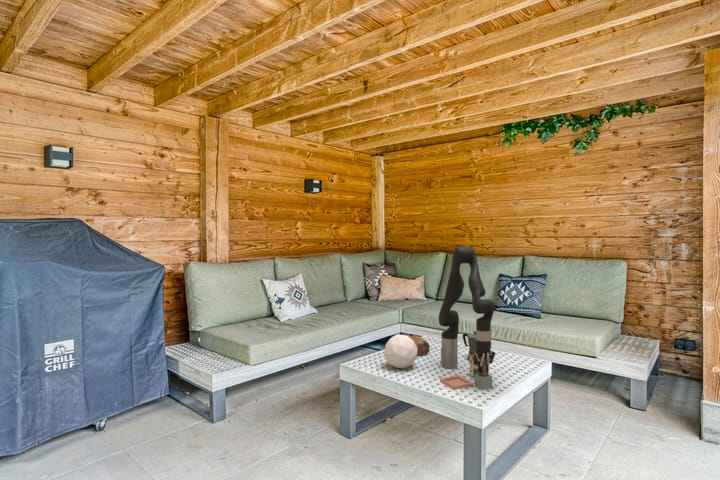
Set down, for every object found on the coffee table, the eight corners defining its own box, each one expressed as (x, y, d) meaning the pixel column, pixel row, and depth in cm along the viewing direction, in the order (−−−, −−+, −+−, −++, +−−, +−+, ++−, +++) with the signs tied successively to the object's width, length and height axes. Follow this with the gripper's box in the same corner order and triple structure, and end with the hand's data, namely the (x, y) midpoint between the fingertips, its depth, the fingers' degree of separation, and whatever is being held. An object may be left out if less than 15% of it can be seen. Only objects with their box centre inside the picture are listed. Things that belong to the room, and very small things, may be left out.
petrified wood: (432, 354, 268) (429, 340, 266) (414, 360, 264) (411, 346, 263) (420, 346, 286) (417, 332, 285) (403, 351, 283) (400, 337, 282)
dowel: (478, 385, 212) (479, 357, 211) (483, 384, 213) (483, 357, 213) (482, 387, 209) (482, 359, 209) (487, 386, 210) (487, 358, 210)
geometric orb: (393, 380, 242) (372, 353, 242) (405, 359, 259) (385, 334, 258) (417, 370, 231) (396, 342, 231) (428, 349, 248) (408, 323, 247)
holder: (474, 387, 212) (474, 373, 212) (484, 385, 215) (484, 372, 215) (482, 391, 207) (482, 377, 207) (492, 389, 209) (492, 376, 209)
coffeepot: (488, 360, 256) (488, 331, 256) (480, 364, 249) (480, 334, 249) (466, 355, 267) (466, 327, 267) (458, 358, 260) (458, 330, 260)
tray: (440, 383, 219) (440, 378, 219) (459, 379, 223) (459, 375, 223) (453, 391, 208) (453, 386, 208) (473, 387, 212) (473, 383, 212)
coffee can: (492, 377, 227) (492, 351, 227) (480, 381, 221) (480, 355, 221) (477, 372, 235) (477, 347, 235) (465, 376, 229) (465, 350, 229)
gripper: (489, 335, 216) (489, 368, 217) (467, 338, 211) (467, 371, 212) (499, 339, 209) (499, 373, 210) (476, 342, 204) (476, 376, 205)
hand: (483, 372), depth 211 cm, fingers closed on dowel, 3 cm apart
